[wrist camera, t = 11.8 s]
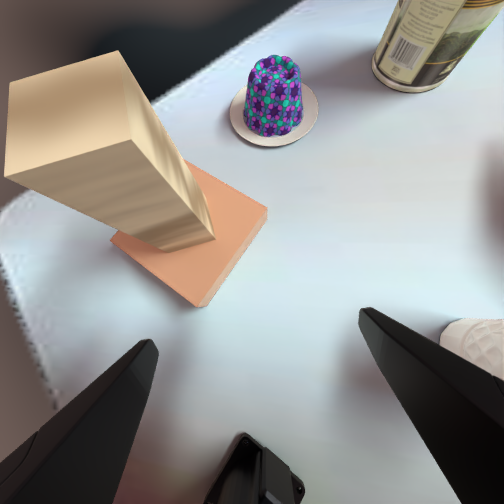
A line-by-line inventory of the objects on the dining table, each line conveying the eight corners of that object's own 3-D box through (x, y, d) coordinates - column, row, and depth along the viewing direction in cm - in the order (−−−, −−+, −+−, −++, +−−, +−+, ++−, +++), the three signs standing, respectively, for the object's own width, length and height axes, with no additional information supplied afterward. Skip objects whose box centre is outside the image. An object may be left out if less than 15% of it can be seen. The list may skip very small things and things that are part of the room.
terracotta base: (206, 306, 21) (196, 307, 18) (129, 247, 23) (109, 240, 20) (267, 219, 23) (267, 207, 20) (190, 173, 25) (179, 157, 22)
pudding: (334, 104, 26) (350, 57, 21) (283, 166, 25) (287, 131, 19) (264, 70, 29) (264, 21, 24) (213, 124, 27) (201, 84, 22)
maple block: (216, 239, 19) (131, 139, 7) (168, 253, 19) (3, 176, 7) (205, 196, 21) (118, 50, 8) (161, 210, 21) (9, 82, 8)
